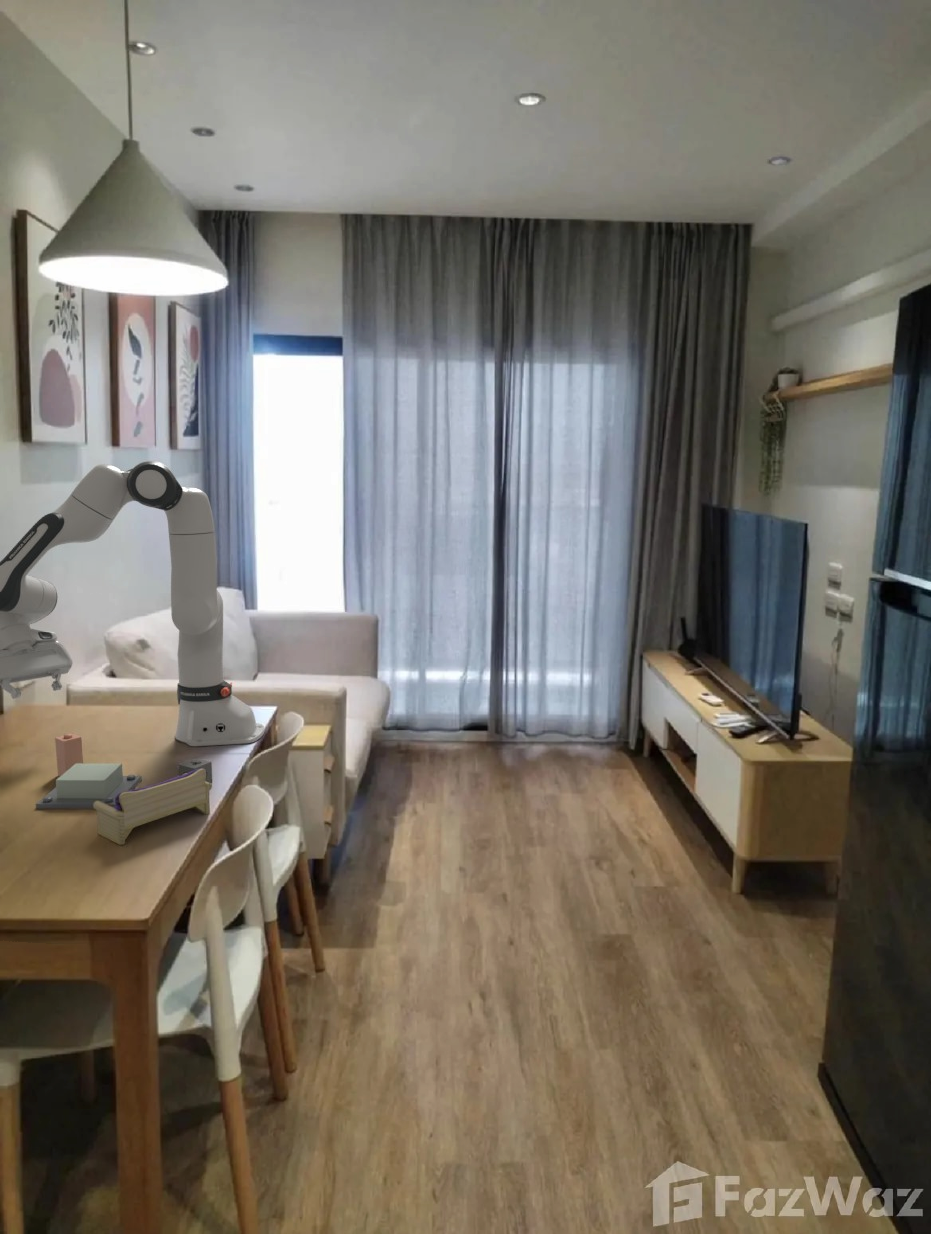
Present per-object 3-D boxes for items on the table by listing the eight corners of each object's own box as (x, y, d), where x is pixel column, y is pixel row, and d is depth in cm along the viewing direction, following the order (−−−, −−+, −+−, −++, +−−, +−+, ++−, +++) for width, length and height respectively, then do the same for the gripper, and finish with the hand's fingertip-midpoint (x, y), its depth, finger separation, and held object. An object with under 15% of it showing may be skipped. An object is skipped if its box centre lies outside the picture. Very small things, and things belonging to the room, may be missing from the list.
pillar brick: (75, 770, 198) (72, 730, 196) (84, 774, 195) (81, 734, 194) (58, 775, 195) (54, 735, 193) (66, 779, 192) (63, 738, 191)
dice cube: (195, 790, 188) (194, 768, 187) (179, 785, 190) (177, 764, 189) (212, 783, 192) (211, 761, 191) (196, 778, 194) (195, 757, 193)
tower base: (141, 780, 193) (140, 759, 192) (114, 808, 177) (113, 785, 176) (69, 780, 192) (68, 758, 191) (36, 808, 177) (34, 785, 176)
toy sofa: (188, 802, 181) (186, 756, 179) (213, 813, 176) (211, 765, 174) (94, 835, 165) (90, 785, 163) (118, 848, 160) (115, 796, 158)
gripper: (-28, 644, 194) (-6, 693, 190) (61, 631, 210) (84, 677, 206) (-35, 659, 198) (-13, 709, 193) (54, 646, 213) (75, 692, 209)
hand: (38, 692), depth 200 cm, fingers open, 8 cm apart
